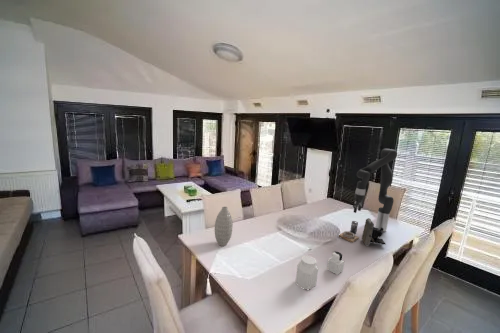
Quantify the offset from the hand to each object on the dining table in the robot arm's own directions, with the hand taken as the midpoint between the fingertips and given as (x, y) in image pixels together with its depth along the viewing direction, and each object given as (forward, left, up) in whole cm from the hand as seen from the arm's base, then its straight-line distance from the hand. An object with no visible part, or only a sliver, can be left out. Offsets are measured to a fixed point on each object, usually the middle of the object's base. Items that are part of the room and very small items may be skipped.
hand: (357, 211), depth 201 cm
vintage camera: (+6, +19, -20) cm, 28 cm away
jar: (+91, +14, -20) cm, 94 cm away
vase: (+106, -48, -20) cm, 118 cm away
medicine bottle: (+65, +18, -20) cm, 70 cm away
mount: (+13, +2, -20) cm, 24 cm away
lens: (0, 0, -20) cm, 20 cm away
